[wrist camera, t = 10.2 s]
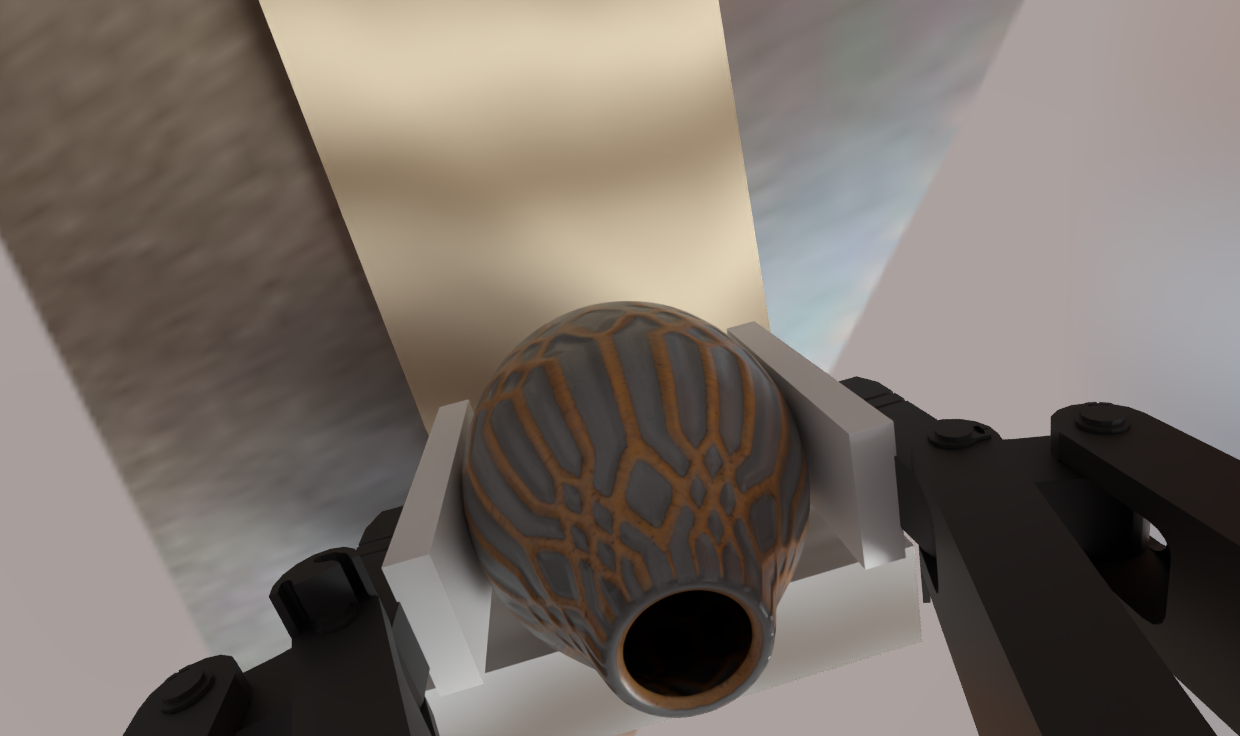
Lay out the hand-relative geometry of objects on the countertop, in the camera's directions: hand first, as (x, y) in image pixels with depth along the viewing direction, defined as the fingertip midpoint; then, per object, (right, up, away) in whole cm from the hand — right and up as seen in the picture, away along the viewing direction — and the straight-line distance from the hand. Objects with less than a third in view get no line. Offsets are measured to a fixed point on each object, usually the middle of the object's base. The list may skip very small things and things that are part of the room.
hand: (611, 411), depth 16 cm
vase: (0, 0, 0) cm, 1 cm away
